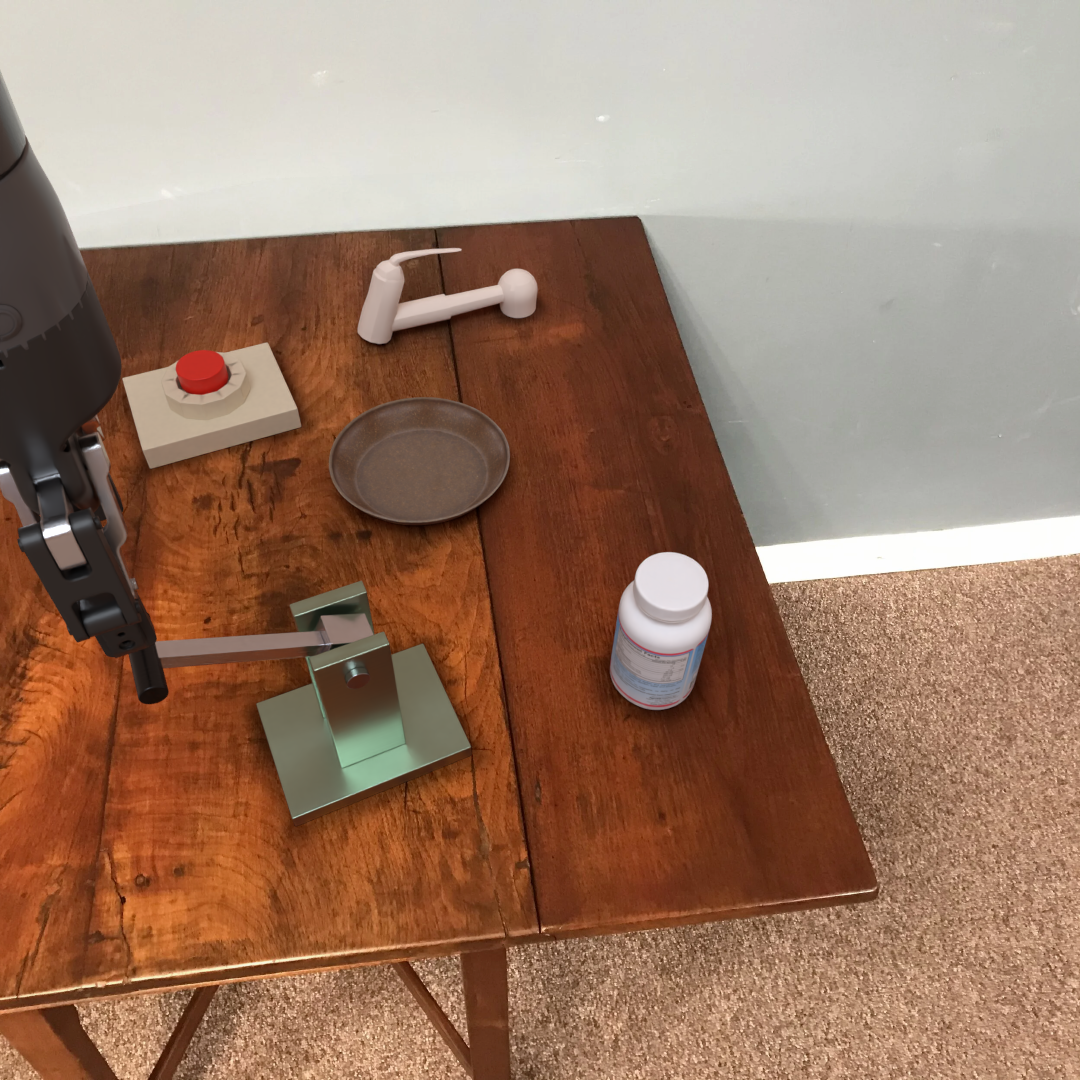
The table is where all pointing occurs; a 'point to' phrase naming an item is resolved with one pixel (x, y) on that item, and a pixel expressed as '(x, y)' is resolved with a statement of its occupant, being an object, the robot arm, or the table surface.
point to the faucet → (436, 299)
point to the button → (202, 372)
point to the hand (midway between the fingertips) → (116, 577)
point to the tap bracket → (358, 717)
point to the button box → (211, 408)
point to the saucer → (419, 460)
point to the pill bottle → (661, 631)
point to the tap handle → (240, 651)
